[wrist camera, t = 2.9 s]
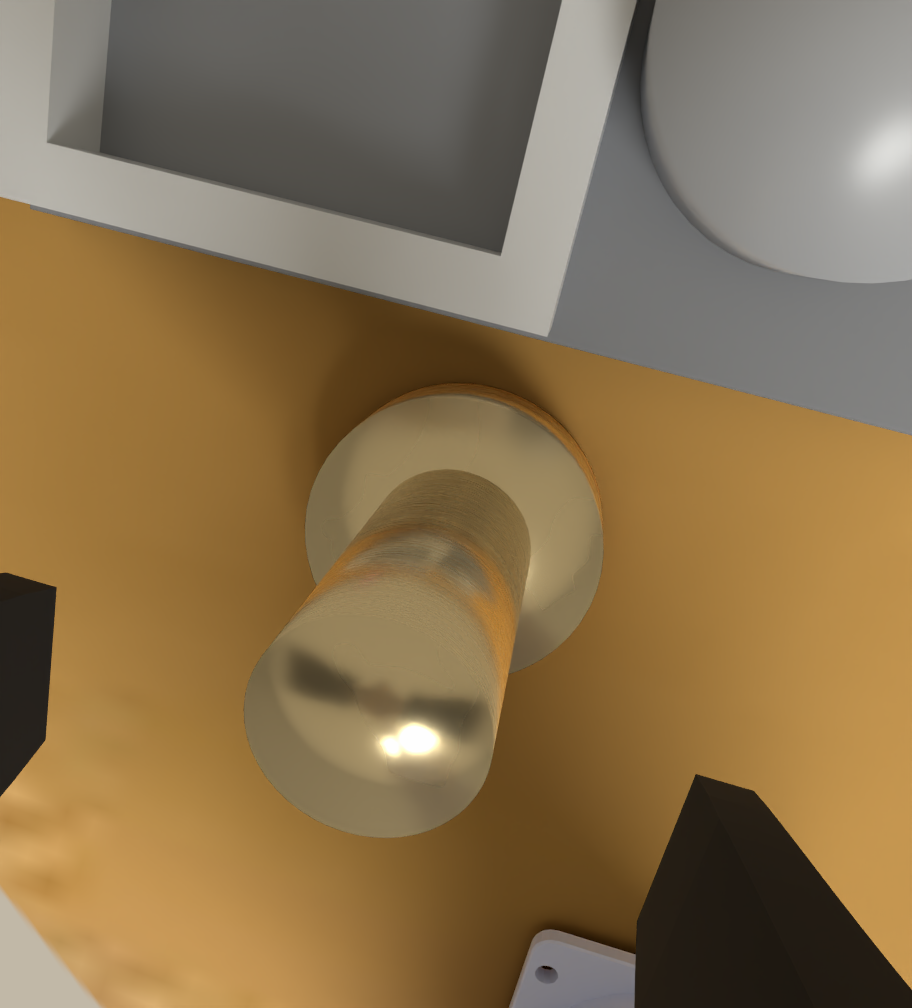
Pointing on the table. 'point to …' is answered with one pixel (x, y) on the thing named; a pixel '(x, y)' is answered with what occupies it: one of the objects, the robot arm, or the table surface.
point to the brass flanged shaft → (423, 606)
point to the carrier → (512, 166)
